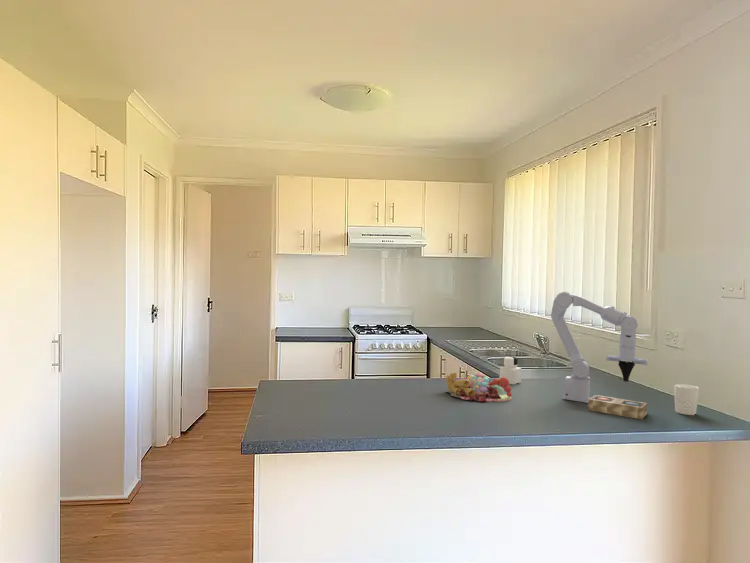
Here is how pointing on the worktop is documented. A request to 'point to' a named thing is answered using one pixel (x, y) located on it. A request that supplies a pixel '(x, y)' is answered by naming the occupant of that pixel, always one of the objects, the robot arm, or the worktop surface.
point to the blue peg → (632, 403)
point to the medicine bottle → (511, 370)
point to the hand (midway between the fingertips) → (625, 381)
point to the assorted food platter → (482, 394)
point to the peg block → (617, 407)
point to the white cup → (686, 399)
